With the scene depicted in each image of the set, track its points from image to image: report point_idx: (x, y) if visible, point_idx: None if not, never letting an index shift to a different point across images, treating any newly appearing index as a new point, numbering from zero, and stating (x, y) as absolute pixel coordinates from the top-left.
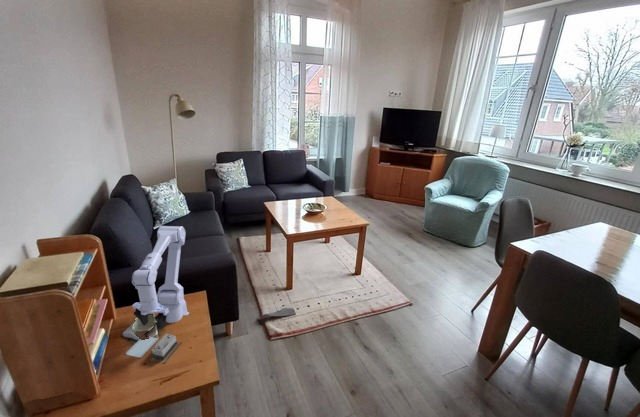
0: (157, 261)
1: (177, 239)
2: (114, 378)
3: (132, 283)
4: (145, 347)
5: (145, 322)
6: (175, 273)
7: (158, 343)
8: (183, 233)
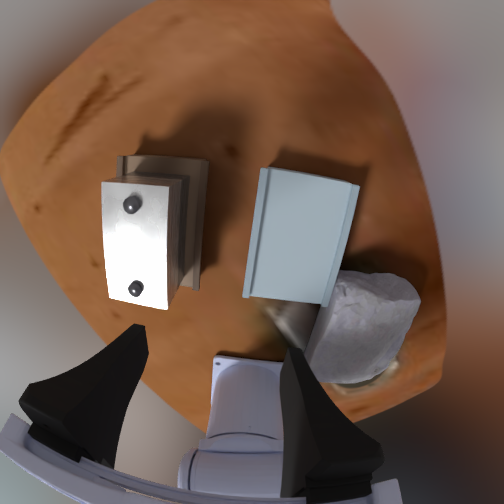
0: None
1: None
2: (329, 64)
3: None
4: (278, 236)
5: (286, 373)
6: None
7: (156, 235)
8: None
